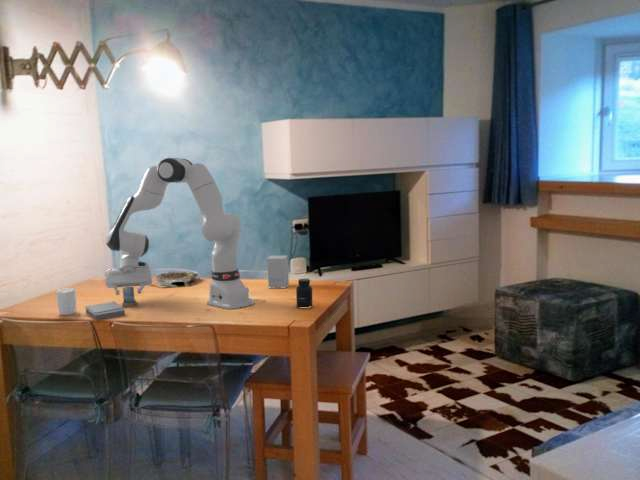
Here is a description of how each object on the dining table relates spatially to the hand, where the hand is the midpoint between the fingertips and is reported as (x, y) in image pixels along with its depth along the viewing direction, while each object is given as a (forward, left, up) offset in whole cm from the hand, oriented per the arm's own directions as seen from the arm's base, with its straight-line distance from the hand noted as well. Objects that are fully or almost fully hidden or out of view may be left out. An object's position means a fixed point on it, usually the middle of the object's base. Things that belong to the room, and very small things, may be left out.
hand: (128, 293), depth 265 cm
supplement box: (-16, -69, -5) cm, 71 cm away
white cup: (+5, +25, -5) cm, 26 cm away
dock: (-8, +13, -5) cm, 16 cm away
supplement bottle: (-57, -56, -5) cm, 80 cm away
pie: (+30, -36, -6) cm, 47 cm away
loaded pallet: (0, 0, -5) cm, 5 cm away
